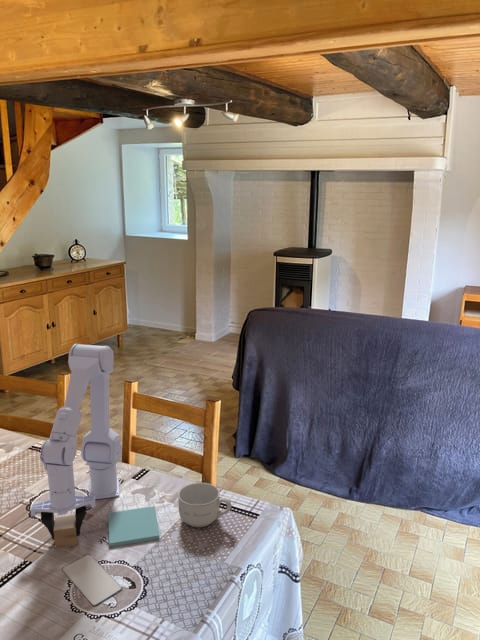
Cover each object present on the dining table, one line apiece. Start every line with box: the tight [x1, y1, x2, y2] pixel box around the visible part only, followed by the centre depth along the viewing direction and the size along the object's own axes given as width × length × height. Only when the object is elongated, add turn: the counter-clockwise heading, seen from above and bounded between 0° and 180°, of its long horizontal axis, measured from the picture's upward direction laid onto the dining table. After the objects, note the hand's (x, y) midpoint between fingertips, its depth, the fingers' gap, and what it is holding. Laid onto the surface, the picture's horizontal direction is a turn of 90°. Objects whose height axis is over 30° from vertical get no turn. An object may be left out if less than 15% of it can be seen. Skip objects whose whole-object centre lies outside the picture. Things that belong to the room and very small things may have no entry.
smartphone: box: [61, 553, 123, 607], centre depth 113 cm, size 7×1×15 cm
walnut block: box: [53, 514, 79, 550], centre depth 124 cm, size 5×5×5 cm
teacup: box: [177, 482, 232, 528], centre depth 131 cm, size 14×11×8 cm
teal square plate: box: [108, 505, 161, 548], centre depth 130 cm, size 12×12×1 cm
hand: (66, 535), depth 125 cm, fingers closed on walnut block, 5 cm apart
